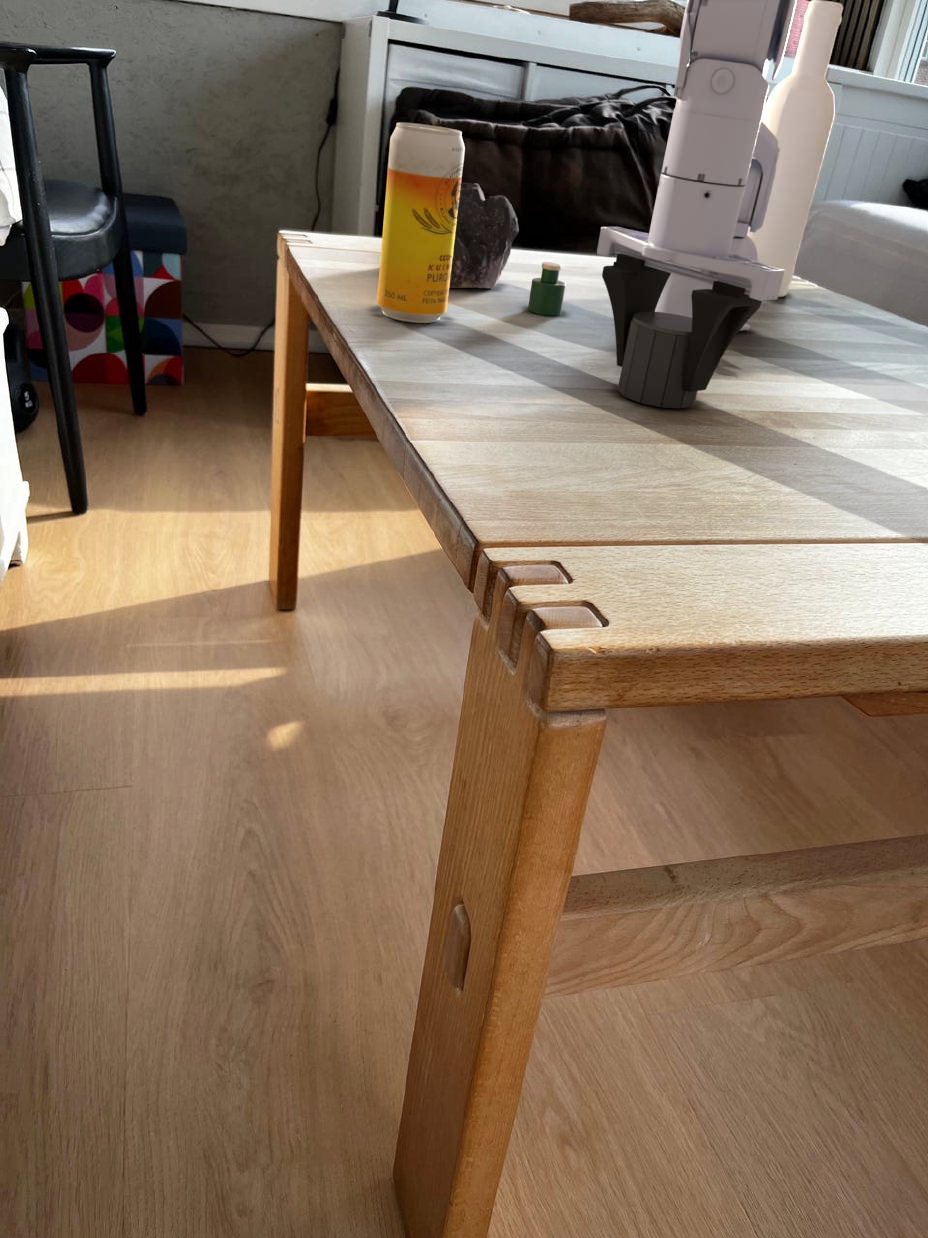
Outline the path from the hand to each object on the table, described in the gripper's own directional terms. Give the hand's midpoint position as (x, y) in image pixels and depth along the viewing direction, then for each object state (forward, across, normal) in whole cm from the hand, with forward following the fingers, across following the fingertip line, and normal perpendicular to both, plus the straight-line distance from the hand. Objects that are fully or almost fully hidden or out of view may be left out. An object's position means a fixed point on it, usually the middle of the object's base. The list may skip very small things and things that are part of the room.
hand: (659, 376), depth 76 cm
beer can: (+2, -25, -3) cm, 25 cm away
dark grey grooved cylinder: (+1, 0, 0) cm, 1 cm away
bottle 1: (+2, -23, +12) cm, 26 cm away
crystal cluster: (+2, -37, +11) cm, 39 cm away
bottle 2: (+2, -25, +51) cm, 57 cm away
